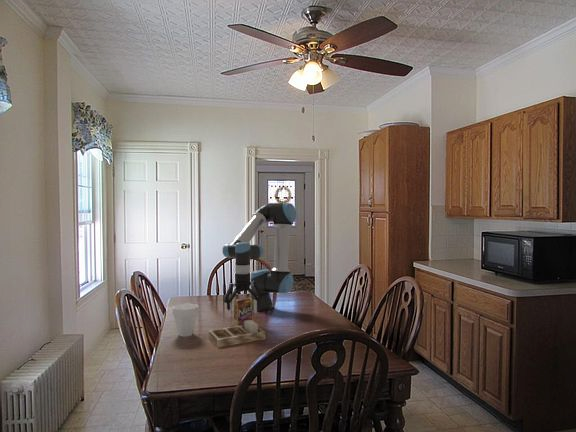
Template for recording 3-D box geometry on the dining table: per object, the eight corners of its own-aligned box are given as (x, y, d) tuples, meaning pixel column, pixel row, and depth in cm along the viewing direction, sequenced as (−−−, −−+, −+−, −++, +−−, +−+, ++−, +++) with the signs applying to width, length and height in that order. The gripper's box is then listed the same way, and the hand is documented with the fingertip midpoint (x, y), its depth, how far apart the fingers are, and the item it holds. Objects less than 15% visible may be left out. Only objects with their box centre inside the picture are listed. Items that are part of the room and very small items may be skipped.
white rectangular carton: (251, 332, 189) (251, 319, 188) (257, 336, 181) (257, 324, 181) (244, 333, 187) (244, 320, 187) (250, 338, 180) (250, 325, 180)
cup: (185, 340, 181) (184, 311, 181) (167, 335, 188) (167, 307, 187) (204, 332, 192) (203, 305, 191) (186, 328, 198) (186, 302, 198)
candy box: (237, 331, 194) (236, 300, 194) (233, 328, 198) (233, 299, 197) (252, 327, 199) (252, 298, 199) (249, 325, 203) (248, 296, 202)
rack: (253, 331, 193) (252, 323, 193) (266, 341, 179) (266, 332, 179) (207, 339, 183) (207, 330, 182) (218, 350, 168) (218, 340, 168)
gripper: (262, 270, 207) (262, 309, 207) (216, 273, 195) (216, 315, 195) (268, 272, 200) (268, 313, 200) (221, 275, 188) (221, 319, 189)
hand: (242, 314), depth 198 cm, fingers open, 13 cm apart
